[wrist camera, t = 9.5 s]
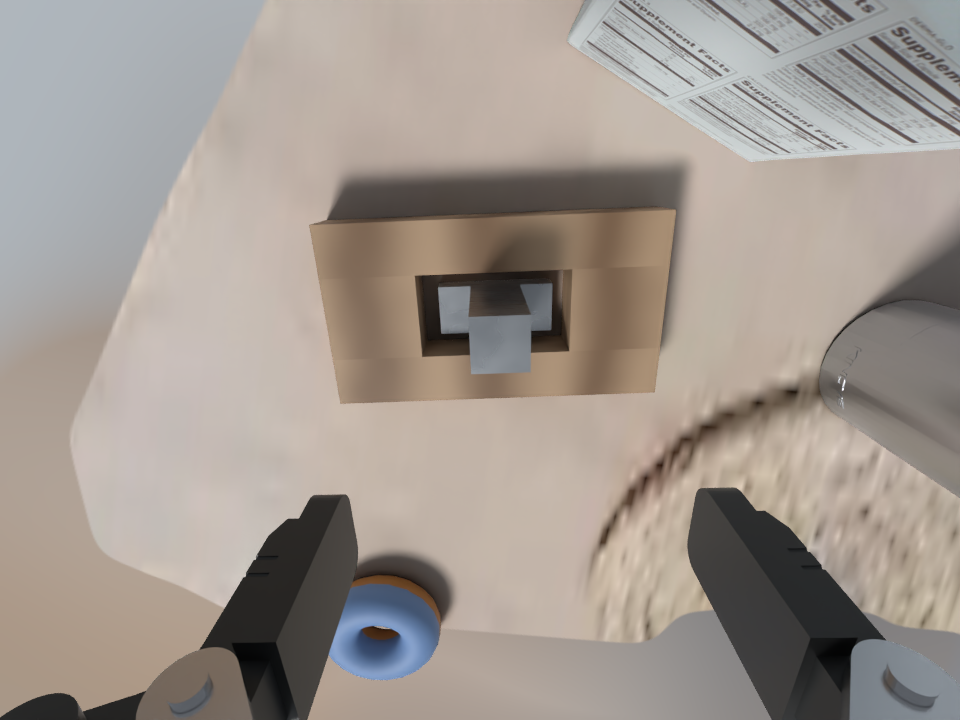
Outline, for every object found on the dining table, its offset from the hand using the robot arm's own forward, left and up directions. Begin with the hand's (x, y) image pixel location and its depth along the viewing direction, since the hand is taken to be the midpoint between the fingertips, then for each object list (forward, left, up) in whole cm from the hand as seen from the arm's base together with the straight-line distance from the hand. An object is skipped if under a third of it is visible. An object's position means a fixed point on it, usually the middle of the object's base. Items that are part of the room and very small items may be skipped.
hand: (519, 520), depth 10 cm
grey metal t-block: (0, 0, -20) cm, 20 cm away
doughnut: (+10, +28, -21) cm, 36 cm away
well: (0, 0, -20) cm, 20 cm away
